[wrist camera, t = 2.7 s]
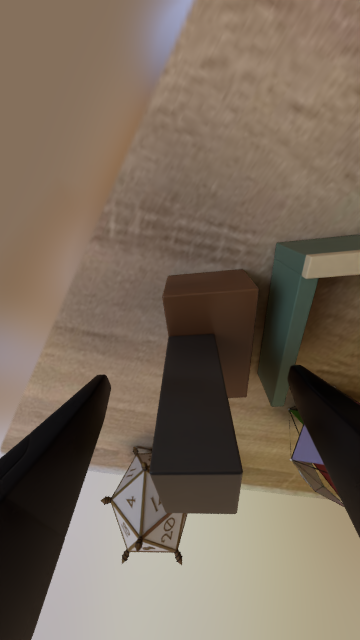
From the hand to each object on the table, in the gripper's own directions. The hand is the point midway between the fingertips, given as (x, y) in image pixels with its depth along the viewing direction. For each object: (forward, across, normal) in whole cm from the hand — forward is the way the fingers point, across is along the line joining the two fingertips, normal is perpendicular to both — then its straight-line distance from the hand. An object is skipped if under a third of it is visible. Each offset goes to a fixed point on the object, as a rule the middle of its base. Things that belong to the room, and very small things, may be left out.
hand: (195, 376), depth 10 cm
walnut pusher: (+4, 0, 0) cm, 4 cm away
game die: (+5, +5, +17) cm, 18 cm away
